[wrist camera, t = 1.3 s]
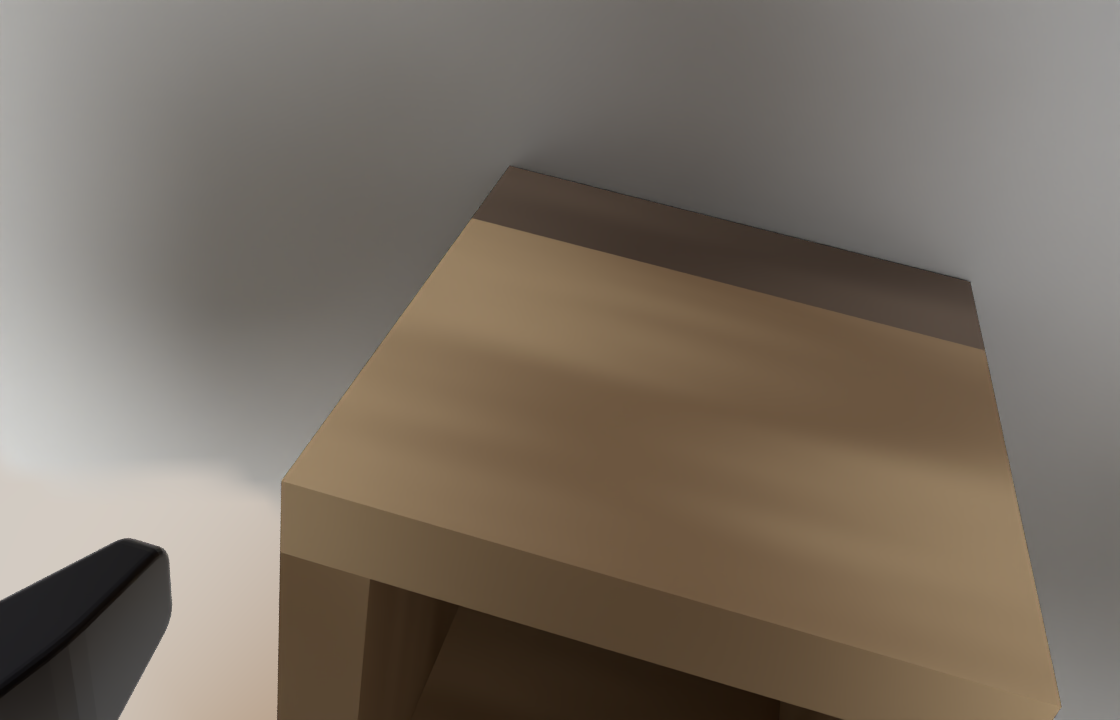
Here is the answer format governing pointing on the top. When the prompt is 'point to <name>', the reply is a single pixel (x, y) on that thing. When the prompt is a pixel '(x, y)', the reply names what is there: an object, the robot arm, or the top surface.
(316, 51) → the top surface
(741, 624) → the oak sleeve
